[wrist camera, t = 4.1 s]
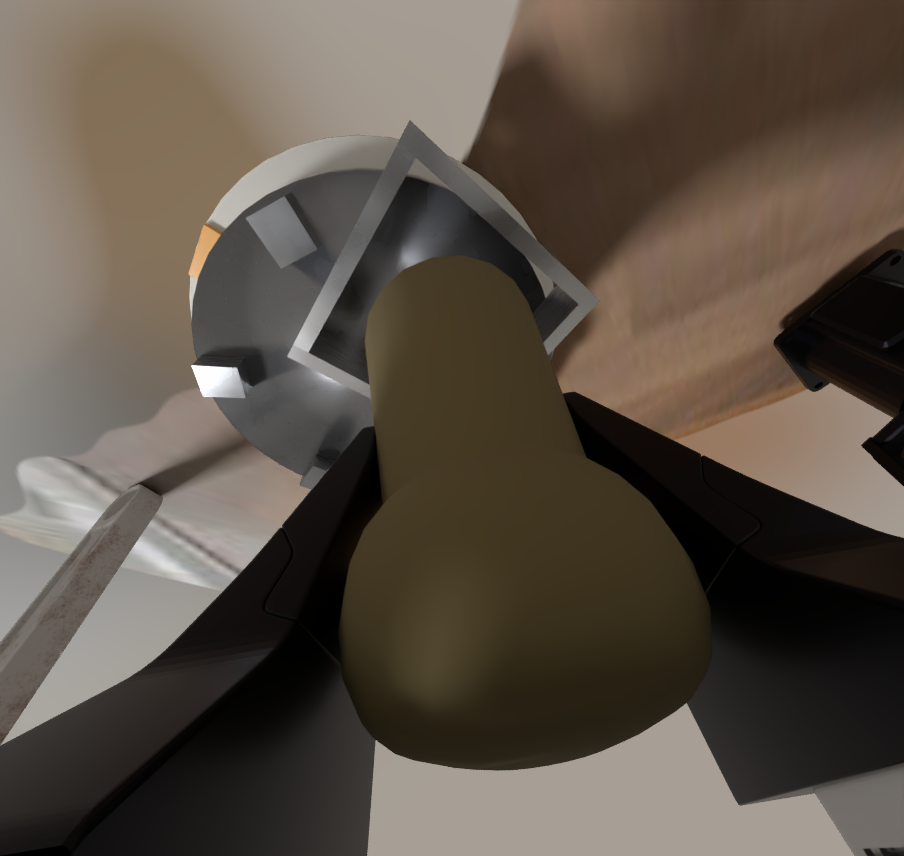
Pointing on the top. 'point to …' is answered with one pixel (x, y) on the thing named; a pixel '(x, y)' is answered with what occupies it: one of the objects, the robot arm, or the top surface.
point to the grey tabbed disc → (344, 294)
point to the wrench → (68, 601)
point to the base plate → (316, 161)
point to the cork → (503, 549)
